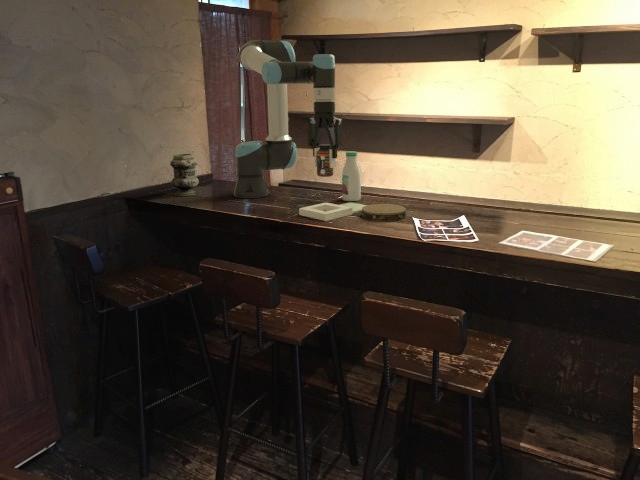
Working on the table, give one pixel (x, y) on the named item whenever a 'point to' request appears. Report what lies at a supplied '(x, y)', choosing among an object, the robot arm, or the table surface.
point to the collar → (331, 211)
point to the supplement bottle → (324, 161)
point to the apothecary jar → (184, 173)
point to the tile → (354, 206)
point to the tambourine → (383, 212)
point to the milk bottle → (351, 178)
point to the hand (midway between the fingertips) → (325, 166)
